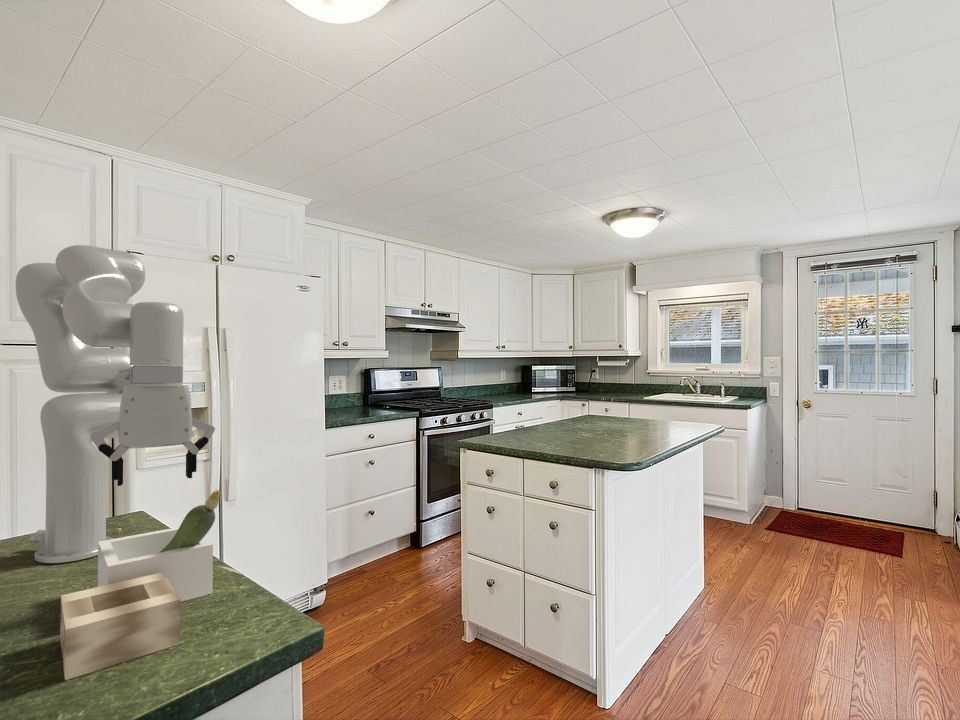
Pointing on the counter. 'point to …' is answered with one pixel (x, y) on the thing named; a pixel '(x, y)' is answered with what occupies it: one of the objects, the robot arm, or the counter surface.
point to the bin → (158, 562)
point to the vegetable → (195, 524)
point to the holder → (118, 623)
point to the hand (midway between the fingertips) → (155, 480)
